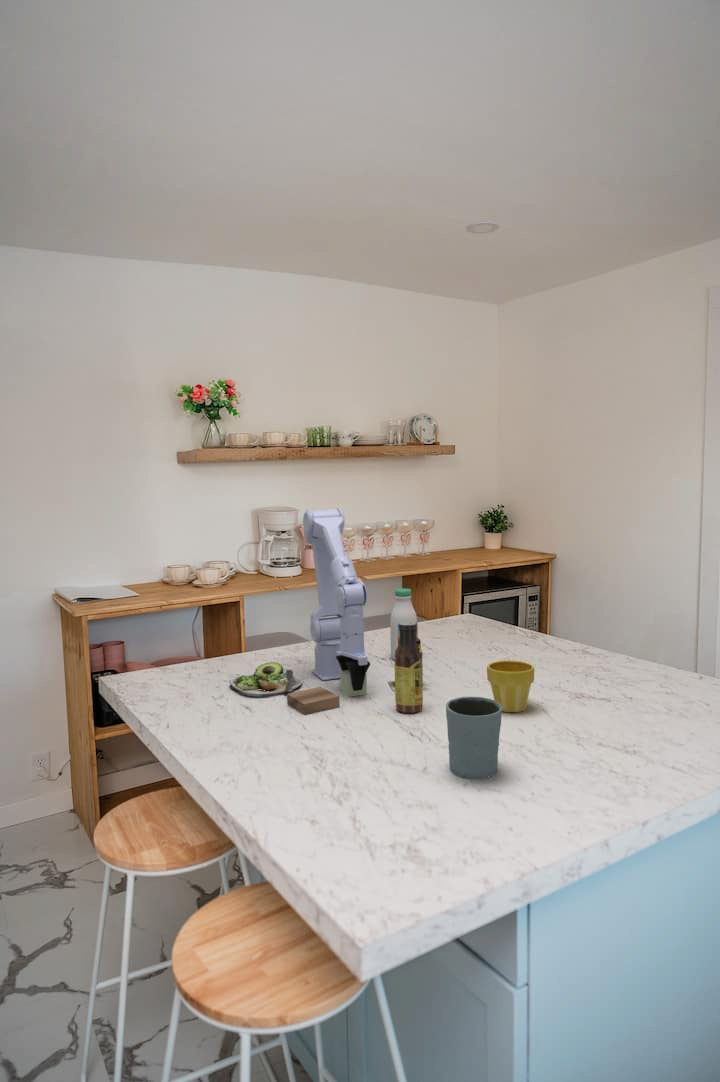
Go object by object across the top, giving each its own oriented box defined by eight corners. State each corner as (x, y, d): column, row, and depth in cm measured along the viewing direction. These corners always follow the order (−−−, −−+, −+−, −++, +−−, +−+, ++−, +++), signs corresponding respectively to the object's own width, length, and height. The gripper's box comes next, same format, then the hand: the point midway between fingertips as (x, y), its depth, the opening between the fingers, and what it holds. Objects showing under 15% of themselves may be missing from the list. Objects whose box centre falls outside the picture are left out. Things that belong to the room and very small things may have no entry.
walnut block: (287, 706, 170) (286, 693, 170) (320, 698, 175) (320, 686, 175) (304, 717, 163) (304, 704, 162) (339, 708, 167) (339, 696, 167)
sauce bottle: (421, 715, 161) (419, 627, 158) (393, 713, 162) (391, 626, 160) (424, 705, 167) (423, 620, 165) (397, 704, 168) (396, 620, 166)
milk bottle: (388, 661, 204) (386, 591, 202) (394, 654, 212) (393, 586, 209) (414, 663, 202) (413, 592, 200) (420, 655, 209) (419, 587, 207)
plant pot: (496, 697, 171) (496, 657, 170) (540, 704, 165) (540, 662, 164) (480, 711, 162) (480, 668, 161) (525, 718, 157) (525, 674, 156)
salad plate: (319, 691, 180) (319, 673, 179) (252, 706, 171) (252, 686, 170) (286, 673, 196) (285, 657, 196) (223, 685, 187) (222, 668, 187)
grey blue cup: (465, 753, 139) (464, 692, 138) (512, 766, 133) (512, 702, 131) (435, 772, 131) (434, 707, 130) (485, 786, 125) (484, 719, 123)
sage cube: (340, 691, 179) (340, 671, 179) (359, 688, 181) (358, 668, 180) (347, 696, 174) (347, 676, 174) (366, 693, 176) (366, 673, 176)
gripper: (326, 628, 181) (328, 680, 183) (346, 640, 168) (348, 697, 169) (353, 625, 184) (354, 677, 185) (375, 637, 170) (376, 693, 172)
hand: (353, 686), depth 178 cm, fingers closed on sage cube, 5 cm apart
